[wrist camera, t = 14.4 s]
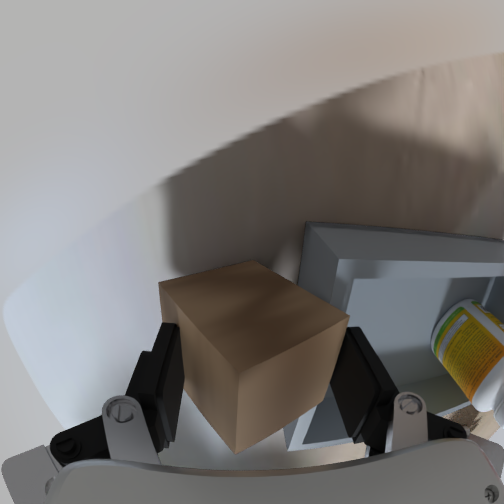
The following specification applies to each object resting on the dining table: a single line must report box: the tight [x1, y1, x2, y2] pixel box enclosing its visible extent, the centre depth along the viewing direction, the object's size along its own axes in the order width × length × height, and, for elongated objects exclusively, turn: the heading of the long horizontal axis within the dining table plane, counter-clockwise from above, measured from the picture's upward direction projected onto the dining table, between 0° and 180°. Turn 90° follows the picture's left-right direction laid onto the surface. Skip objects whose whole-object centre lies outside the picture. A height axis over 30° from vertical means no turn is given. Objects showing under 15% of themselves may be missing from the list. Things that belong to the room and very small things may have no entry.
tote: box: [283, 221, 504, 451], centre depth 16 cm, size 18×14×5 cm
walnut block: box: [158, 260, 350, 455], centre depth 12 cm, size 5×5×6 cm
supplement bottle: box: [431, 299, 504, 429], centre depth 13 cm, size 5×5×10 cm
